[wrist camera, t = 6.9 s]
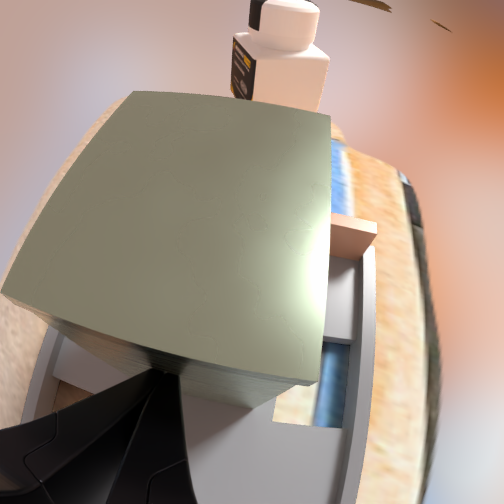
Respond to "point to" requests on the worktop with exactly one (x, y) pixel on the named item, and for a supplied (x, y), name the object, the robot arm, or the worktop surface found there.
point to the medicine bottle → (280, 55)
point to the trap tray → (260, 419)
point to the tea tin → (191, 245)
